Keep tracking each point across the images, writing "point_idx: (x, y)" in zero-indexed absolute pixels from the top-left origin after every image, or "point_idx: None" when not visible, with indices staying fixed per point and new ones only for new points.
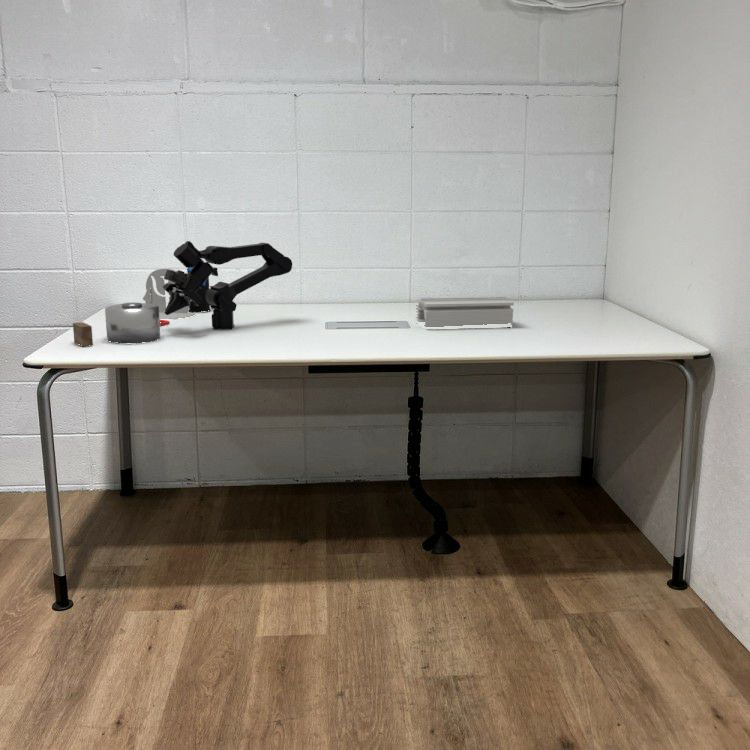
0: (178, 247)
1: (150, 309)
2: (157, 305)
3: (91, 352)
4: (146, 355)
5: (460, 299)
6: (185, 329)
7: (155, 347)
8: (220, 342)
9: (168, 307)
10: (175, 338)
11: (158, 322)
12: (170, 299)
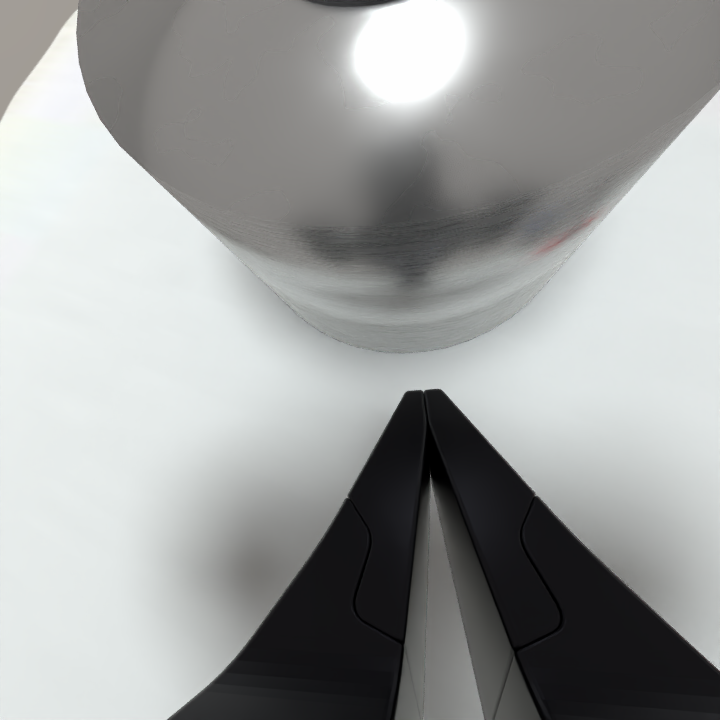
0: None
1: (87, 78)
2: (344, 218)
3: None
4: (24, 181)
5: None
6: None
7: (127, 248)
8: (9, 609)
9: (407, 444)
10: (270, 417)
11: (264, 280)
12: (597, 618)
